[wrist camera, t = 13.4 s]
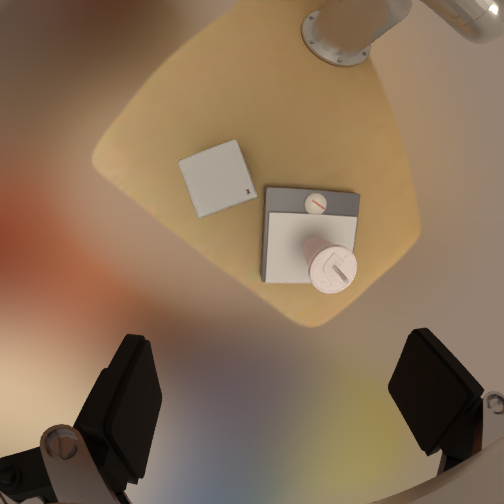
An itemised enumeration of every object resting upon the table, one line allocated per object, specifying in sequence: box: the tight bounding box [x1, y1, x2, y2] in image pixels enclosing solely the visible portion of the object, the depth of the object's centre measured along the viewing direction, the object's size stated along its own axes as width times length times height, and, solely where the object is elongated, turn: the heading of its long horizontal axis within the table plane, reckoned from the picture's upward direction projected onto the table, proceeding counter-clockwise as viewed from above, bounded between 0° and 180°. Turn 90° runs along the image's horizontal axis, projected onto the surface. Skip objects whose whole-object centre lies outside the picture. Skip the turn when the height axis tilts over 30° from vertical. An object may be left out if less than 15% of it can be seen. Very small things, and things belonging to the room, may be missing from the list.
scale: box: [260, 186, 360, 283], centre depth 43 cm, size 15×15×4 cm
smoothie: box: [303, 236, 357, 293], centre depth 35 cm, size 6×6×14 cm
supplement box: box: [178, 139, 258, 218], centre depth 35 cm, size 7×7×13 cm
